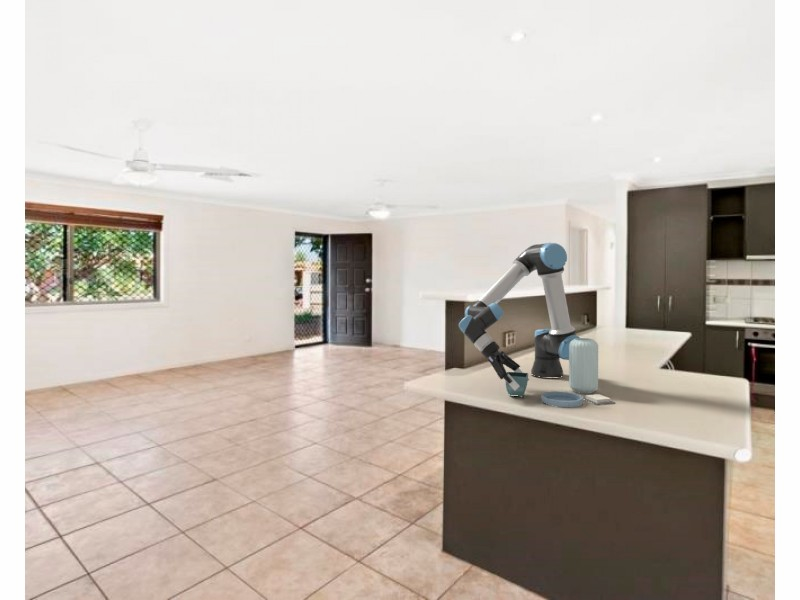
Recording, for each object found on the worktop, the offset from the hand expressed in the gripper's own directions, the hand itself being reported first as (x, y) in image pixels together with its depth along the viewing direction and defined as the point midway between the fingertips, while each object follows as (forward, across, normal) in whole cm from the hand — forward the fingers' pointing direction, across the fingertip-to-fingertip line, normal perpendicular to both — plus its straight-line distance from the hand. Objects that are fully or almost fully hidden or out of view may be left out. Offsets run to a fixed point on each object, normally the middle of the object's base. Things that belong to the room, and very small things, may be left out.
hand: (522, 385), depth 195 cm
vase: (+18, -20, +11) cm, 29 cm away
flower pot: (+2, 0, -5) cm, 5 cm away
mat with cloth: (+23, -6, +17) cm, 29 cm away
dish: (+15, +1, +8) cm, 17 cm away
